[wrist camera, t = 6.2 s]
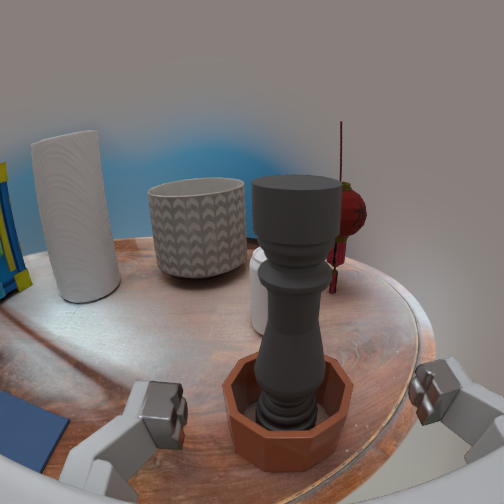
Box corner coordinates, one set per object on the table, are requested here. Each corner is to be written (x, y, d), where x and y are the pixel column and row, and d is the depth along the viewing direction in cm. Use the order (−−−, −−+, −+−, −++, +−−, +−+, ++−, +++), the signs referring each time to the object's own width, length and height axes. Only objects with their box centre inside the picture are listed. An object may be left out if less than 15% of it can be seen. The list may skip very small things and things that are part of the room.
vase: (132, 274, 63) (112, 128, 51) (100, 309, 50) (67, 132, 37) (83, 271, 64) (61, 140, 52) (49, 301, 51) (15, 148, 39)
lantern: (296, 291, 55) (298, 119, 43) (328, 275, 60) (334, 122, 48) (337, 312, 48) (349, 120, 36) (366, 291, 53) (381, 124, 42)
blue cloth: (31, 494, 15) (29, 492, 15) (-35, 446, 17) (-37, 444, 16) (70, 420, 26) (68, 418, 26) (3, 392, 28) (2, 390, 27)
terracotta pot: (346, 468, 22) (364, 433, 19) (221, 468, 23) (211, 434, 20) (334, 387, 33) (344, 345, 30) (234, 387, 34) (230, 345, 31)
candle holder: (285, 460, 24) (305, 196, 14) (244, 426, 28) (226, 182, 19) (325, 425, 28) (364, 183, 18) (284, 397, 32) (292, 171, 22)
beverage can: (314, 323, 45) (320, 252, 41) (280, 349, 40) (281, 272, 36) (276, 304, 51) (276, 238, 46) (240, 325, 46) (236, 253, 41)
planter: (245, 291, 55) (241, 193, 48) (148, 291, 56) (132, 199, 49) (248, 251, 73) (245, 176, 66) (172, 253, 73) (163, 180, 66)
